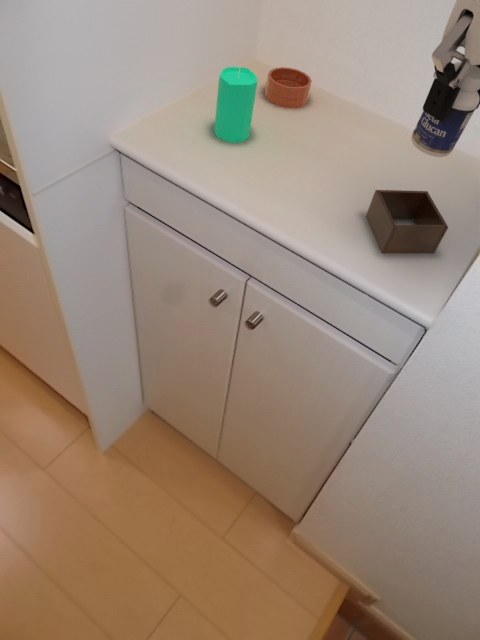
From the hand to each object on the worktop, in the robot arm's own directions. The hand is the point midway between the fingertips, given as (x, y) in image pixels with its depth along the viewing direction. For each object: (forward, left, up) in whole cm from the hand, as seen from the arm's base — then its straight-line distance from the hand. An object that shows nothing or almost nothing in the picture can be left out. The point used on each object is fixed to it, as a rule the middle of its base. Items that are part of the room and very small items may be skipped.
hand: (450, 108), depth 62 cm
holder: (0, +1, -20) cm, 20 cm away
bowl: (+9, -38, -20) cm, 44 cm away
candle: (+21, -24, -20) cm, 38 cm away
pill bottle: (0, 0, -5) cm, 5 cm away
